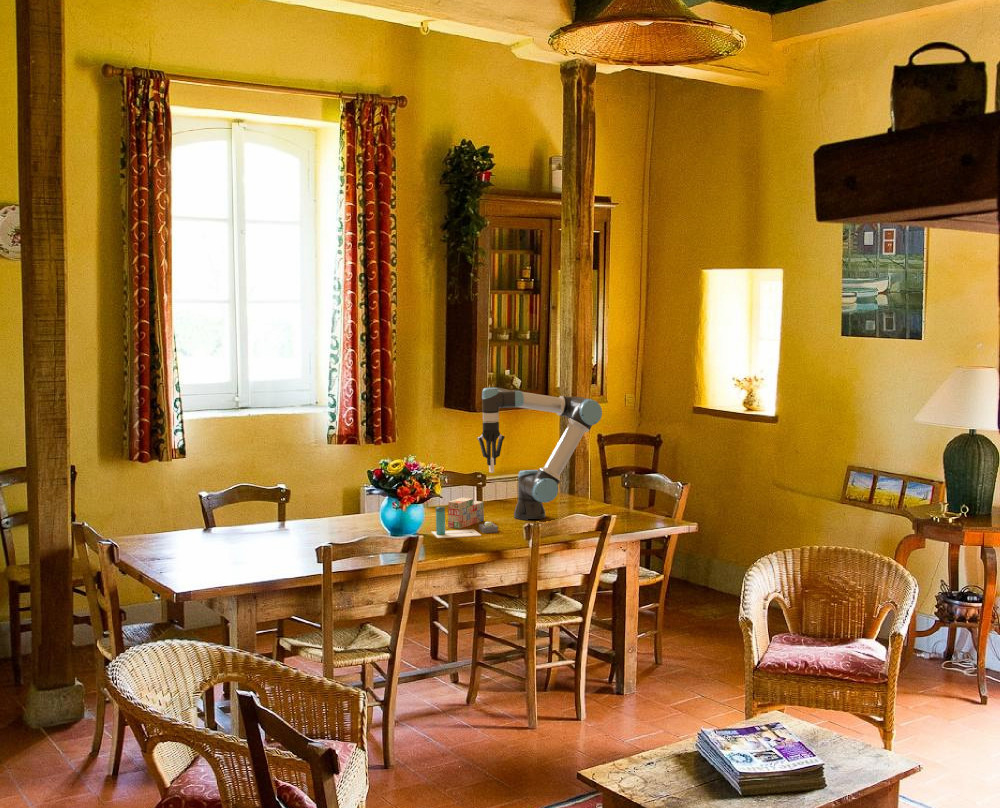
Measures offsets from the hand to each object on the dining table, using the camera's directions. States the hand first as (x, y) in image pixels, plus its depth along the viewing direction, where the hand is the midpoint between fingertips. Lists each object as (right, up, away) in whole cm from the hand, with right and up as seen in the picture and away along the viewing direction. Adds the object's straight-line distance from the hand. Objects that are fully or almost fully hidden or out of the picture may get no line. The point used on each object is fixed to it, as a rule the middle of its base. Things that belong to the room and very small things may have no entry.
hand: (491, 472), depth 511 cm
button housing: (-1, -26, -7) cm, 27 cm away
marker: (-22, -27, -17) cm, 39 cm away
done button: (-1, -26, -7) cm, 27 cm away
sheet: (-16, -27, -14) cm, 34 cm away
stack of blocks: (-12, -25, +7) cm, 29 cm away
